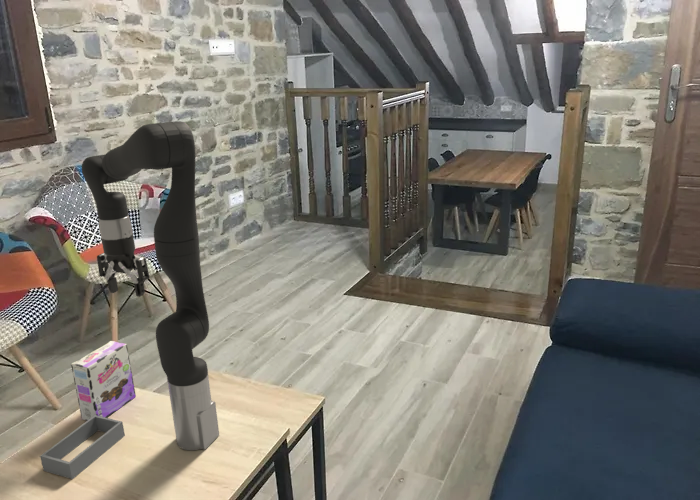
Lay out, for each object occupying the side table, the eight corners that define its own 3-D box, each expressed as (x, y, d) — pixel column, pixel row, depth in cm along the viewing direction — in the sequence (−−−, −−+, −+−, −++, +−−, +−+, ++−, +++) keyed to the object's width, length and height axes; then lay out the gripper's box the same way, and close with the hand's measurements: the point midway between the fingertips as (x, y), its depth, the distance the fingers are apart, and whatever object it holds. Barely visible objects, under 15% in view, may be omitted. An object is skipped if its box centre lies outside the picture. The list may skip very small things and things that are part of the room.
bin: (124, 435, 146) (122, 421, 145) (72, 479, 131) (69, 464, 130) (97, 428, 149) (94, 415, 148) (43, 470, 135) (40, 455, 133)
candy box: (98, 425, 151) (86, 367, 145) (81, 420, 153) (69, 363, 148) (137, 396, 163) (127, 342, 157) (120, 392, 165) (111, 339, 160)
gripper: (83, 236, 148) (95, 296, 154) (128, 240, 143) (139, 302, 148) (105, 228, 155) (116, 285, 160) (149, 231, 150) (158, 291, 155)
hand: (127, 293), depth 154 cm, fingers open, 8 cm apart
